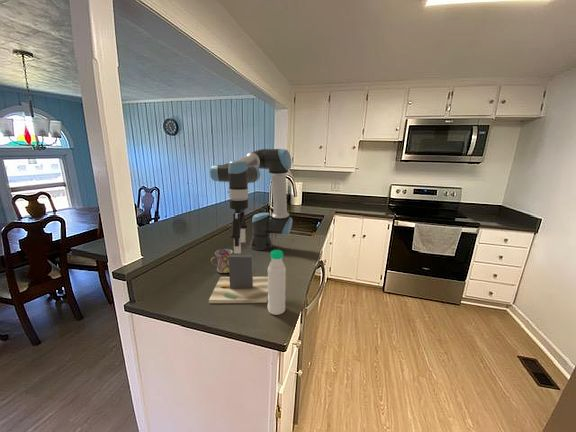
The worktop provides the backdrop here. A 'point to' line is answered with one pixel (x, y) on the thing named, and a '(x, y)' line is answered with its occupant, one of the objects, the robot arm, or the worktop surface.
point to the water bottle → (276, 283)
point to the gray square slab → (240, 271)
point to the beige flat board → (240, 292)
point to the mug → (222, 260)
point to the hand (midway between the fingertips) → (240, 247)
